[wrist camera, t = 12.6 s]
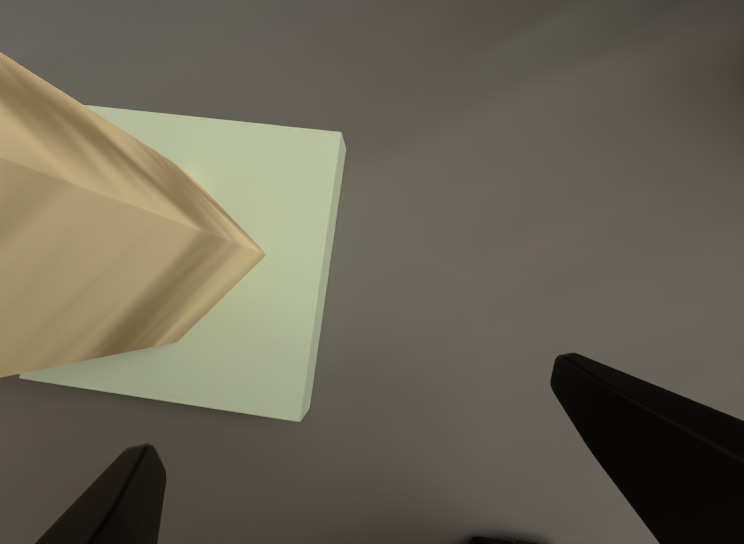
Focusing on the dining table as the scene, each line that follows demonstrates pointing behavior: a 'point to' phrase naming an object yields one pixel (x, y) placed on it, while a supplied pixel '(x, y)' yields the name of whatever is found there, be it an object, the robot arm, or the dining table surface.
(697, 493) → the robot arm
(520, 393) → the dining table surface
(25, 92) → the oak brick
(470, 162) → the dining table surface
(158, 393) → the sage baseplate
